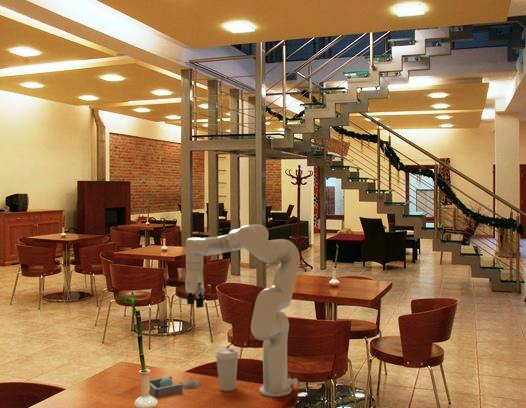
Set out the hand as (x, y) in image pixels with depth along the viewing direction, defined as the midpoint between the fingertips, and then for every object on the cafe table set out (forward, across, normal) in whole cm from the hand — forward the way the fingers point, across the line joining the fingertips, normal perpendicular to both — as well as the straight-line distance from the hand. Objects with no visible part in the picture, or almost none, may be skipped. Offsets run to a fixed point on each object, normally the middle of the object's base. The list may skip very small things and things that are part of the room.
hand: (195, 305), depth 235 cm
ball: (+28, +10, -18) cm, 34 cm away
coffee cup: (+31, +22, +4) cm, 38 cm away
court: (+30, +10, -18) cm, 37 cm away
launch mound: (+42, +10, -7) cm, 44 cm away
